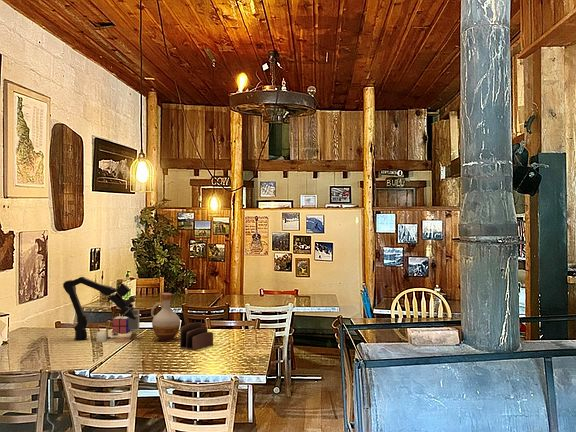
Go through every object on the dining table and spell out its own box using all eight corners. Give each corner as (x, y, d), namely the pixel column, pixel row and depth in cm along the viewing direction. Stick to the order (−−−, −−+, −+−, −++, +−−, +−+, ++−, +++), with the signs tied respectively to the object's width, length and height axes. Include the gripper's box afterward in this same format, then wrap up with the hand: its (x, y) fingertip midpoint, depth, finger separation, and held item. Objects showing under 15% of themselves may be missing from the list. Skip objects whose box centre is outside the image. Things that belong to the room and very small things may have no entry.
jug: (144, 341, 357) (144, 294, 358) (157, 336, 374) (157, 291, 375) (172, 343, 353) (173, 295, 353) (184, 337, 370) (185, 292, 370)
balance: (96, 340, 361) (96, 325, 361) (94, 339, 365) (94, 324, 365) (119, 338, 368) (119, 323, 368) (117, 336, 373) (117, 322, 373)
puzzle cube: (126, 333, 385) (126, 318, 386) (112, 333, 386) (112, 318, 386) (131, 330, 395) (131, 316, 396) (116, 330, 396) (117, 316, 396)
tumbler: (128, 329, 364) (128, 310, 364) (130, 328, 370) (129, 309, 370) (137, 329, 365) (137, 310, 365) (139, 328, 371) (139, 309, 371)
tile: (117, 342, 353) (117, 341, 353) (113, 340, 360) (113, 339, 360) (129, 341, 357) (129, 339, 357) (126, 339, 364) (126, 337, 364)
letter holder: (179, 349, 337) (180, 325, 337) (200, 343, 354) (201, 320, 354) (192, 350, 332) (193, 326, 332) (213, 344, 349) (213, 322, 349)
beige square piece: (97, 342, 354) (97, 333, 354) (95, 341, 359) (95, 331, 359) (107, 341, 357) (107, 332, 358) (105, 340, 362) (105, 330, 363)
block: (130, 339, 366) (130, 334, 366) (131, 338, 369) (131, 333, 369) (135, 339, 366) (135, 334, 366) (136, 338, 369) (136, 333, 369)
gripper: (125, 294, 358) (142, 311, 359) (130, 291, 377) (147, 307, 378) (112, 306, 357) (129, 324, 358) (118, 303, 376) (135, 319, 377)
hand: (136, 318), depth 368 cm, fingers closed on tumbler, 6 cm apart
